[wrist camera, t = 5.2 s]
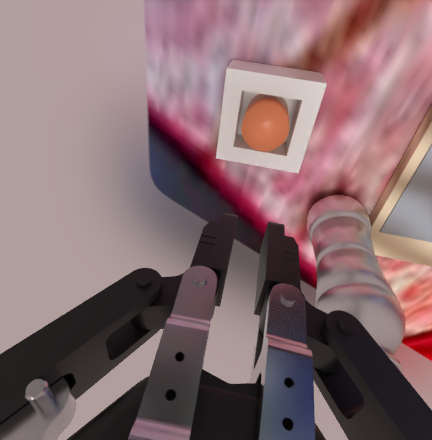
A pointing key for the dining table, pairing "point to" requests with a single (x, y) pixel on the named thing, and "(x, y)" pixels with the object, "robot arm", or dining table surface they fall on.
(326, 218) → the plastic bottle
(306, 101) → the button housing
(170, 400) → the robot arm
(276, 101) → the button cap
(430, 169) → the board
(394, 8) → the dining table surface
